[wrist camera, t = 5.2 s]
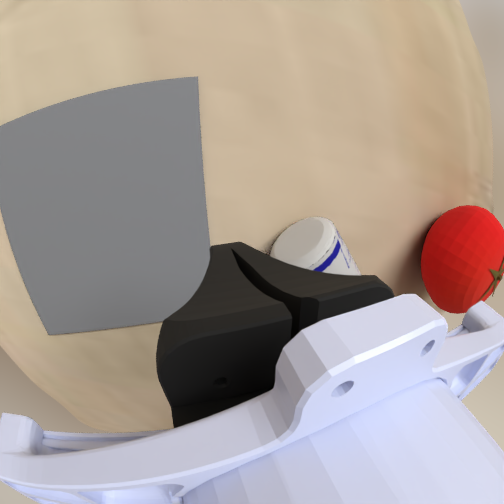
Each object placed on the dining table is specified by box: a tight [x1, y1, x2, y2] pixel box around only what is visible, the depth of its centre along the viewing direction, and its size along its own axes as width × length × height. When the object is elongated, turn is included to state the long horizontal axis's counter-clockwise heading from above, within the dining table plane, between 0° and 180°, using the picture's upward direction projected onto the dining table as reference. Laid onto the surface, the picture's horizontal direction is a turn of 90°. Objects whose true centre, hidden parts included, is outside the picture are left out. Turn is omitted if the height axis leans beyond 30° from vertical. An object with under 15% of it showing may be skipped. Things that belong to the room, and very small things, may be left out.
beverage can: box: [270, 217, 361, 275], centre depth 24 cm, size 6×6×15 cm
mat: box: [0, 77, 210, 335], centre depth 18 cm, size 19×17×1 cm
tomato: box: [421, 205, 504, 314], centre depth 25 cm, size 12×13×11 cm
